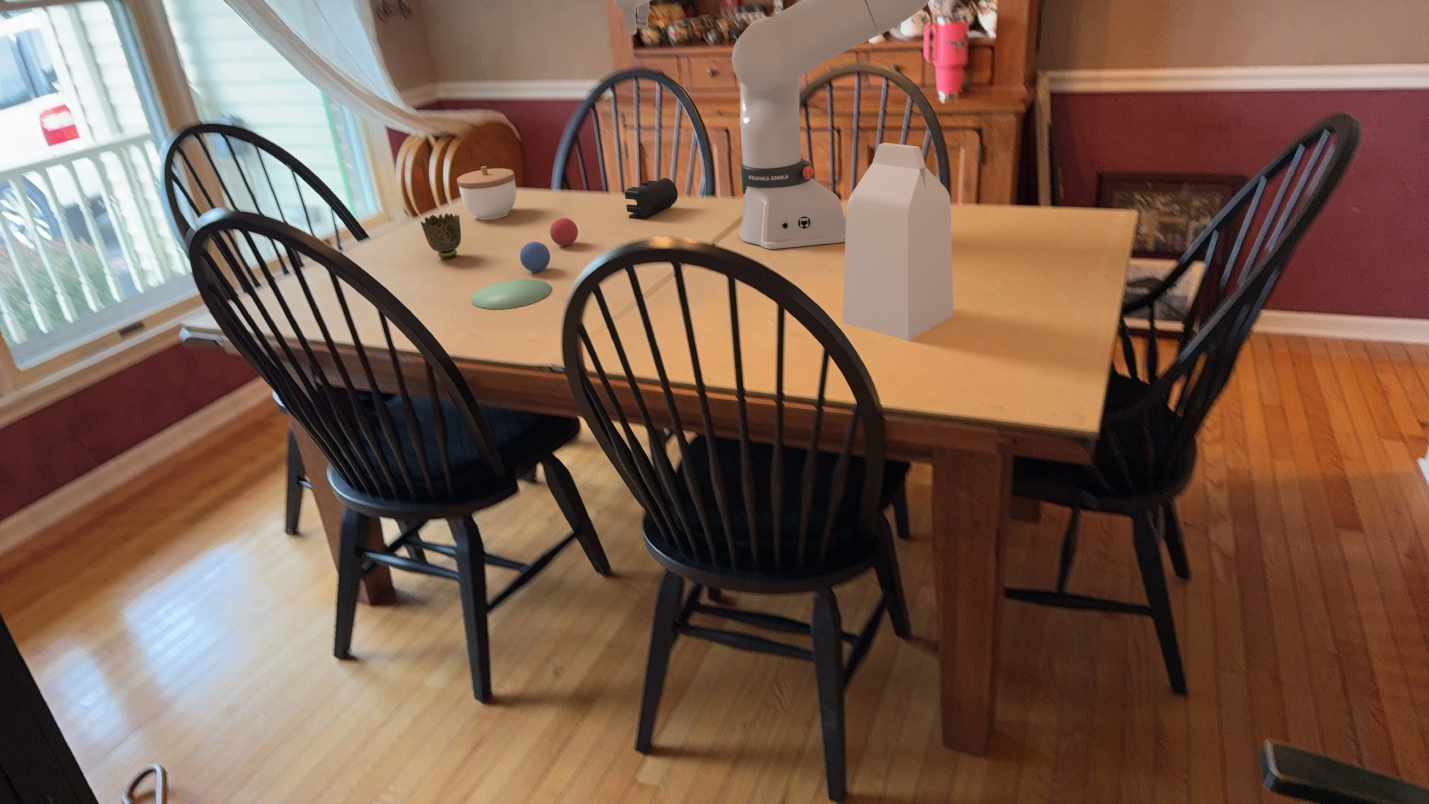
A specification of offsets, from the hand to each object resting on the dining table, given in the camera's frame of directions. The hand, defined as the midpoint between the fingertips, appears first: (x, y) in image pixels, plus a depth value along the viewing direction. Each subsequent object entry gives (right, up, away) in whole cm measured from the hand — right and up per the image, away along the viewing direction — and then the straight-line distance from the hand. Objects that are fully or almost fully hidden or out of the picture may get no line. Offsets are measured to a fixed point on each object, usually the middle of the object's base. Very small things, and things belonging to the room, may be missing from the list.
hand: (636, 31), depth 172 cm
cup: (-39, -38, +18) cm, 58 cm away
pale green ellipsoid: (-22, -48, -4) cm, 53 cm away
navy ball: (-19, -40, +5) cm, 45 cm away
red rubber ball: (-16, -33, +18) cm, 41 cm away
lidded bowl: (-36, -25, +44) cm, 62 cm away
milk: (+42, -55, -28) cm, 74 cm away
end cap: (+1, -26, +34) cm, 43 cm away
